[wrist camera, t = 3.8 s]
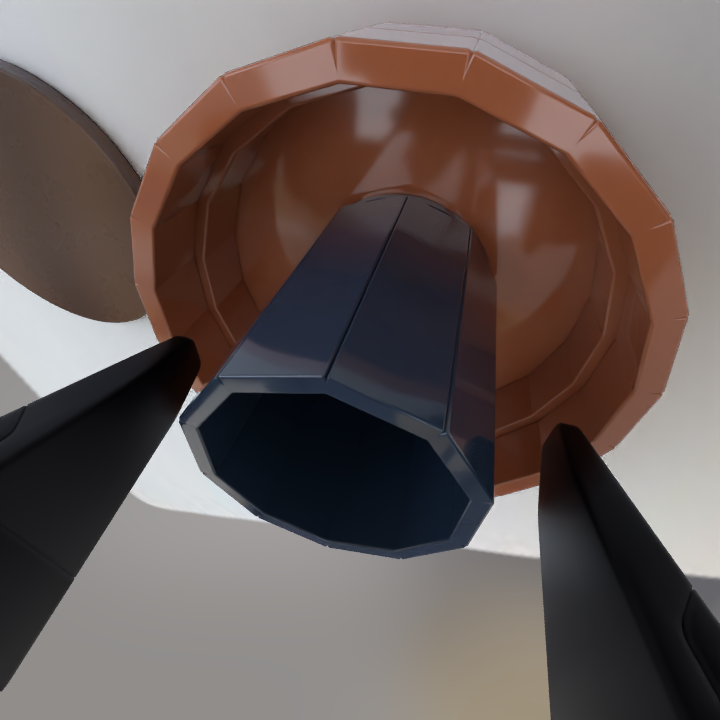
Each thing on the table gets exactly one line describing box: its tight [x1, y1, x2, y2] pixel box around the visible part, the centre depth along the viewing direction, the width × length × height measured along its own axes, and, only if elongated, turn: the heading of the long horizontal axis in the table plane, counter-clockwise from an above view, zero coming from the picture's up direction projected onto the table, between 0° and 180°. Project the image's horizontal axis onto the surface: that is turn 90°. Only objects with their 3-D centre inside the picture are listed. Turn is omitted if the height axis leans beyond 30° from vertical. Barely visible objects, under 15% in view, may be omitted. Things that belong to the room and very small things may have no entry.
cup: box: [179, 194, 497, 559], centre depth 10 cm, size 6×6×8 cm
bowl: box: [130, 22, 689, 497], centre depth 12 cm, size 13×13×4 cm
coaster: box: [0, 60, 147, 323], centre depth 15 cm, size 10×10×1 cm
